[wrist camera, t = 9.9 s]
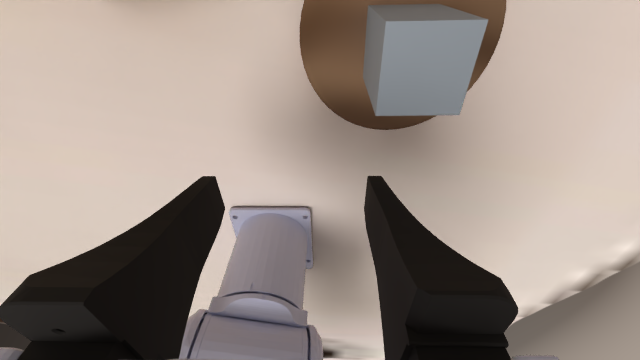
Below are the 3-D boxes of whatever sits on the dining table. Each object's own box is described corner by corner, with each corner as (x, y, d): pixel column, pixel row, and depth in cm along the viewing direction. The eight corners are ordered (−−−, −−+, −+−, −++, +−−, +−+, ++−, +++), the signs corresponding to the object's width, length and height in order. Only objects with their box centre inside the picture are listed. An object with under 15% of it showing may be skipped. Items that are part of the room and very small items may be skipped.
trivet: (460, 120, 21) (468, 129, 20) (305, 121, 22) (304, 130, 21) (528, -97, 14) (547, -103, 13) (294, -91, 14) (292, -96, 13)
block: (424, 76, 18) (459, 115, 13) (362, 77, 18) (375, 116, 13) (439, 3, 16) (488, 19, 11) (367, 5, 16) (385, 21, 11)
